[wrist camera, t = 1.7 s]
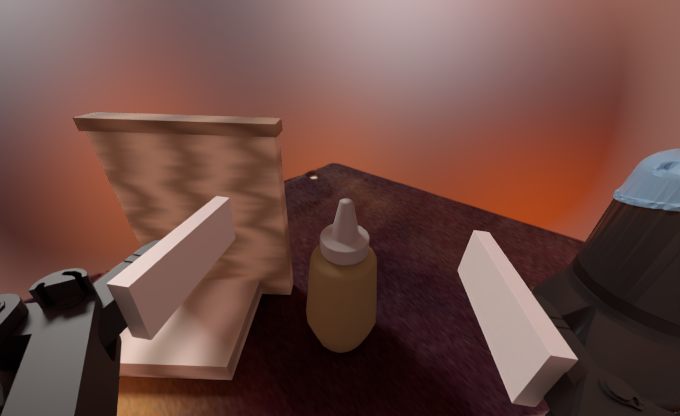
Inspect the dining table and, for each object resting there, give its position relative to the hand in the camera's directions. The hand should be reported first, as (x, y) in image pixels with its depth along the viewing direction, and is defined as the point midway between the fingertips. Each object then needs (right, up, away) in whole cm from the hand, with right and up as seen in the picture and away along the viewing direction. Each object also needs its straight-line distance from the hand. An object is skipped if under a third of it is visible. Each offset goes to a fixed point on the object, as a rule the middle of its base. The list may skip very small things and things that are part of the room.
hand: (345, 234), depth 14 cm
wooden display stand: (-16, -13, +18) cm, 27 cm away
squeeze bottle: (0, -14, +17) cm, 22 cm away
